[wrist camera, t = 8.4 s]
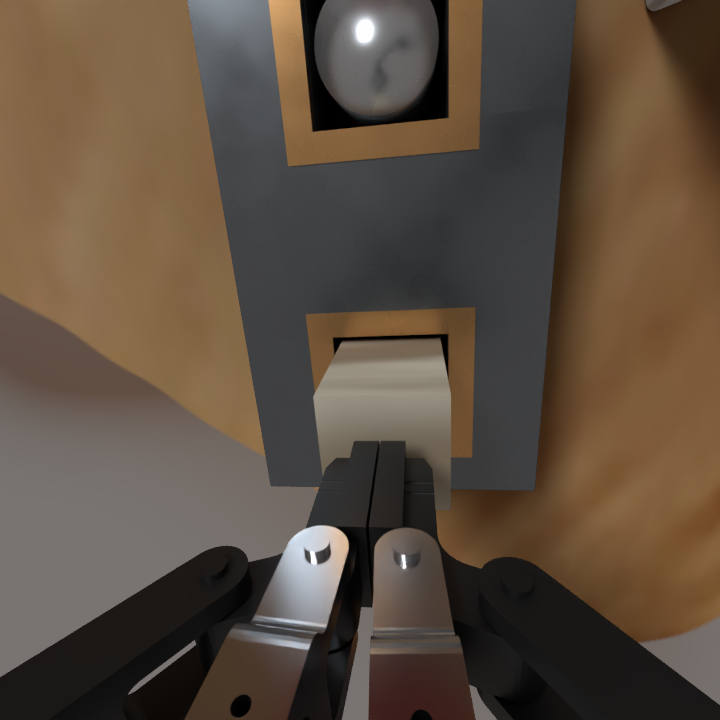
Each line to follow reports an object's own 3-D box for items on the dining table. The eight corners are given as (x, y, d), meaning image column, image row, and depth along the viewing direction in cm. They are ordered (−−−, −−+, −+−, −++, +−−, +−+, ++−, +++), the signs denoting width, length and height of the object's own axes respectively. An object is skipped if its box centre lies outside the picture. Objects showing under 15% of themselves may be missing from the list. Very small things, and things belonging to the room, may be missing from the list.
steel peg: (337, 40, 18) (307, -24, 13) (431, 27, 18) (438, -44, 12) (345, 143, 20) (320, 121, 14) (432, 134, 19) (438, 109, 14)
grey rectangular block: (342, 340, 18) (313, 396, 12) (440, 337, 17) (450, 394, 12) (350, 425, 19) (326, 507, 14) (440, 424, 18) (450, 510, 13)
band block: (241, -28, 18) (164, -132, 12) (533, -75, 16) (595, -219, 11) (302, 424, 26) (270, 486, 20) (506, 423, 24) (534, 491, 18)
